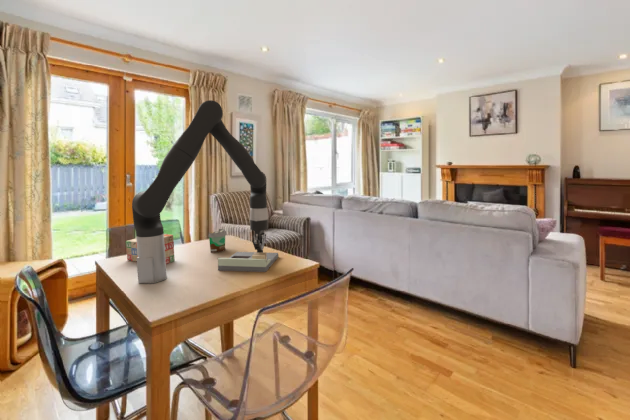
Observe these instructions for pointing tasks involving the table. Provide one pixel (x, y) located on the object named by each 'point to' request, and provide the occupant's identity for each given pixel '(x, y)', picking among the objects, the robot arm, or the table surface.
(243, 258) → the grey panel with windows
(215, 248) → the food container
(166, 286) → the table surface
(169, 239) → the stack of blocks
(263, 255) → the maple block
